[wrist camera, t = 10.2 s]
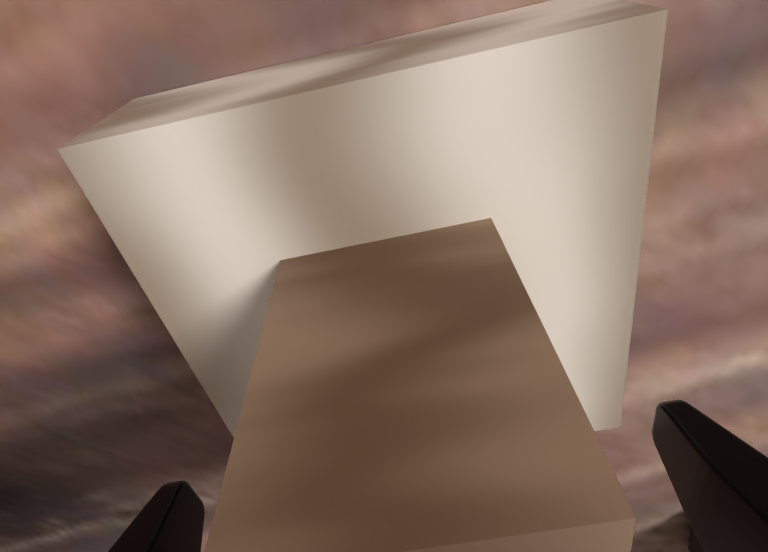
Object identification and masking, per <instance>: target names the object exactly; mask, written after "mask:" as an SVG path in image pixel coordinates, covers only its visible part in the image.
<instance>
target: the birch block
mask: <svg viewBox="0 0 768 552" xmlns="http://www.w3.org/2000/svg"><path fill="white" fill-rule="evenodd" d="M667 12H668V9H664V8H659V7H654V6H649V5H643V4H638V3H633V2H628V1H623V0H552V1H547V2H543V3H539V4H535V5H530V6H526V7H522V8H518V9H513V10H509V11H505V12H501V13H496V14H492V15H488V16H484V17H479V18H475V19H471V20H467V21H462V22H458V23H454V24H450V25H445V26H441V27H437V28H433V29H428V30H424V31H420V32H416V33H411V34H407V35H403V36H399V37H394V38H390V39H386V40H382V41H377V42H373V43H369V44H364V45H360V46H356V47H352V48H347V49H343V50H339V51H335V52H330V53H326V54H322V55H318V56H313V57H309V58H305V59H301V60H296V61H292V62H288V63H284V64H279V65H275V66H271V67H267V68H262V69H258V70H254V71H250V72H245V73H241V74H237V75H233V76H228V77H224V78H220V79H216V80H211V81H207V82H203V83H199V84H194V85H190V86H186V87H182V88H177V89H173V90H169V91H165V92H160V93H156V94H152V95H148V96H143V97H139V98H135V99H133V100H132V101H130V102H129V103H127V104H126V105H124V106H122V107H121V108H119V109H118V110H116V111H115V112H113V113H112V114H110V115H109V116H107V117H106V118H104V119H102V120H101V121H99V122H98V123H96V124H95V125H93V126H92V127H90V128H89V129H87V130H86V131H84V132H83V133H81V134H79V135H78V136H76V137H75V138H73V139H72V140H70V141H69V142H67V143H66V144H64V145H63V146H61V147H59V148H58V149H57V150H58V151H59V153H60V155H61V156H62V158H63V159H64V161H65V163H66V164H67V166H68V168H69V169H70V171H71V173H72V174H73V176H74V177H75V179H76V181H77V182H78V184H79V186H80V187H81V189H82V191H83V192H84V194H85V195H86V197H87V199H88V200H89V202H90V204H91V205H92V207H93V209H94V210H95V212H96V213H97V215H98V217H99V218H100V220H101V222H102V223H103V225H104V227H105V228H106V230H107V231H108V233H109V235H110V236H111V238H112V240H113V241H114V243H115V245H116V246H117V248H118V249H119V251H120V253H121V254H122V256H123V258H124V259H125V261H126V263H127V264H128V266H129V267H130V269H131V271H132V272H133V274H134V276H135V277H136V279H137V281H138V282H139V284H140V286H141V287H142V289H143V290H144V292H145V294H146V295H147V297H148V299H149V300H150V302H151V304H152V305H153V307H154V308H155V310H156V312H157V313H158V315H159V317H160V318H161V320H162V322H163V323H164V325H165V326H166V328H167V330H168V331H169V333H170V335H171V336H172V338H173V340H174V341H175V343H176V344H177V346H178V348H179V349H180V351H181V353H182V354H183V356H184V358H185V359H186V361H187V362H188V364H189V366H190V367H191V369H192V371H193V372H194V374H195V376H196V377H197V379H198V380H199V382H200V384H201V385H202V387H203V389H204V390H205V392H206V394H207V395H208V397H209V398H210V400H211V402H212V403H213V405H214V407H215V408H216V410H217V412H218V413H219V415H220V416H221V418H222V420H223V421H224V423H225V425H226V426H227V428H228V430H229V431H230V433H231V434H232V436H233V438H234V436H235V433H236V429H237V425H238V421H239V417H240V414H241V410H242V406H243V402H244V398H245V394H246V391H247V387H248V383H249V379H250V375H251V372H252V368H253V364H254V360H255V356H256V353H257V349H258V345H259V341H260V337H261V333H262V330H263V326H264V322H265V318H266V314H267V311H268V307H269V303H270V299H271V295H272V291H273V288H274V284H275V280H276V276H277V272H278V269H279V265H280V261H281V260H284V259H289V258H294V257H299V256H304V255H309V254H314V253H319V252H324V251H329V250H334V249H339V248H344V247H349V246H354V245H359V244H364V243H369V242H374V241H378V240H383V239H388V238H393V237H398V236H403V235H408V234H413V233H418V232H423V231H428V230H433V229H438V228H443V227H448V226H453V225H458V224H463V223H468V222H473V221H478V220H483V219H488V218H491V219H492V221H493V223H494V225H495V227H496V229H497V231H498V233H499V235H500V237H501V239H502V241H503V243H504V246H505V248H506V250H507V252H508V254H509V256H510V258H511V260H512V262H513V264H514V266H515V268H516V270H517V272H518V274H519V277H520V279H521V281H522V283H523V285H524V287H525V289H526V291H527V293H528V295H529V297H530V299H531V301H532V303H533V305H534V308H535V310H536V312H537V314H538V316H539V318H540V320H541V322H542V324H543V326H544V328H545V330H546V332H547V334H548V336H549V339H550V341H551V343H552V345H553V347H554V349H555V351H556V353H557V355H558V357H559V359H560V361H561V363H562V365H563V367H564V369H565V372H566V374H567V376H568V378H569V380H570V382H571V384H572V386H573V388H574V390H575V392H576V394H577V396H578V398H579V400H580V403H581V405H582V407H583V409H584V411H585V413H586V415H587V417H588V419H589V421H590V423H591V425H592V427H593V429H594V431H598V430H605V429H611V428H617V427H621V418H622V409H623V401H624V392H625V383H626V374H627V365H628V356H629V347H630V339H631V330H632V321H633V312H634V303H635V294H636V286H637V277H638V268H639V259H640V250H641V241H642V233H643V224H644V215H645V206H646V197H647V188H648V180H649V171H650V162H651V153H652V144H653V135H654V127H655V118H656V109H657V100H658V91H659V82H660V74H661V65H662V56H663V47H664V38H665V29H666V21H667Z"/></svg>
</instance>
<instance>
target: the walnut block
mask: <svg viewBox="0 0 768 552" xmlns="http://www.w3.org/2000/svg"><path fill="white" fill-rule="evenodd" d="M635 524H636V516H635V514H634V512H633V510H632V508H631V506H630V504H629V502H628V500H627V498H626V496H625V493H624V491H623V489H622V487H621V485H620V483H619V481H618V479H617V477H616V475H615V473H614V471H613V469H612V467H611V465H610V462H609V460H608V458H607V456H606V454H605V452H604V450H603V448H602V446H601V444H600V442H599V440H598V438H597V436H596V434H595V431H594V429H593V427H592V425H591V423H590V421H589V419H588V417H587V415H586V413H585V411H584V409H583V407H582V405H581V403H580V400H579V398H578V396H577V394H576V392H575V390H574V388H573V386H572V384H571V382H570V380H569V378H568V376H567V374H566V372H565V369H564V367H563V365H562V363H561V361H560V359H559V357H558V355H557V353H556V351H555V349H554V347H553V345H552V343H551V341H550V339H549V336H548V334H547V332H546V330H545V328H544V326H543V324H542V322H541V320H540V318H539V316H538V314H537V312H536V310H535V308H534V305H533V303H532V301H531V299H530V297H529V295H528V293H527V291H526V289H525V287H524V285H523V283H522V281H521V279H520V277H519V274H518V272H517V270H516V268H515V266H514V264H513V262H512V260H511V258H510V256H509V254H508V252H507V250H506V248H505V246H504V243H503V241H502V239H501V237H500V235H499V233H498V231H497V229H496V227H495V225H494V223H493V221H492V219H491V218H488V219H483V220H478V221H473V222H468V223H463V224H458V225H453V226H448V227H443V228H438V229H433V230H428V231H423V232H418V233H413V234H408V235H403V236H398V237H393V238H388V239H383V240H378V241H374V242H369V243H364V244H359V245H354V246H349V247H344V248H339V249H334V250H329V251H324V252H319V253H314V254H309V255H304V256H299V257H294V258H289V259H284V260H281V261H280V265H279V269H278V272H277V276H276V280H275V284H274V288H273V291H272V295H271V299H270V303H269V307H268V311H267V314H266V318H265V322H264V326H263V330H262V333H261V337H260V341H259V345H258V349H257V353H256V356H255V360H254V364H253V368H252V372H251V375H250V379H249V383H248V387H247V391H246V394H245V398H244V402H243V406H242V410H241V414H240V417H239V421H238V425H237V429H236V433H235V436H234V440H233V444H232V448H231V452H230V456H229V459H228V463H227V467H226V471H225V475H224V478H223V482H222V486H221V490H220V494H219V497H218V501H217V505H216V509H215V513H214V517H213V520H212V524H211V528H210V532H209V536H208V539H207V543H206V547H205V551H204V552H631V547H632V541H633V535H634V529H635Z"/></svg>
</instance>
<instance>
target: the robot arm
mask: <svg viewBox="0 0 768 552" xmlns="http://www.w3.org/2000/svg"><path fill="white" fill-rule="evenodd" d="M652 436H653V440H654V443H655V446H656V448H657V450H658V453H659V455H660V457H661V459H662V462H663V464H664V466H665V469H666V471H667V473H668V476H669V478H670V480H671V482H672V485H673V487H674V489H675V492H676V494H677V496H678V499H679V501H680V503H681V505H682V508H683V510H684V512H685V515H686V517H687V519H688V521H689V523H690V525H691V527H692V529H693V533H692V536H691V539H690V542H689V546H688V549H689V551H690V552H768V457H766V456H765V455H763V454H762V453H760V452H759V451H757V450H756V449H754V448H753V447H752V446H750V445H749V444H747V443H746V442H744V441H743V440H741V439H740V438H738V437H737V436H735V435H734V434H732V433H731V432H729V431H728V430H726V429H725V428H724V427H722V426H721V425H719V424H718V423H716V422H715V421H713V420H712V419H710V418H709V417H707V416H706V415H704V414H703V413H701V412H700V411H699V410H697V409H696V408H694V407H693V406H691V405H690V404H688V403H687V402H685V401H682V400H674V401H668V402H662V403H659V404H658V405H657V407H656V411H655V417H654V422H653V428H652ZM203 524H204V505H203V503H202V501H201V499H200V498H199V497H198V495H197V494H196V493H195V492H194V490H193V489H192V488H191V486H190V485H189V484H188V483H187V482H186V481H177V482H171V483H167V484H164V485H163V486H162V487H161V488H160V489H159V490H158V491H157V492H156V493H155V495H154V496H153V497H152V498H151V500H150V501H149V502H148V503H147V504H146V506H145V507H144V508H143V509H142V511H141V512H140V513H139V514H138V515H137V517H136V518H135V519H134V520H133V522H132V523H131V524H130V525H129V526H128V528H127V529H126V530H125V531H124V533H123V534H122V535H121V536H120V537H119V539H118V540H117V541H116V542H115V544H114V545H113V546H112V547H111V548H110V550H109V551H108V552H201V543H202V533H203Z"/></svg>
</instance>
